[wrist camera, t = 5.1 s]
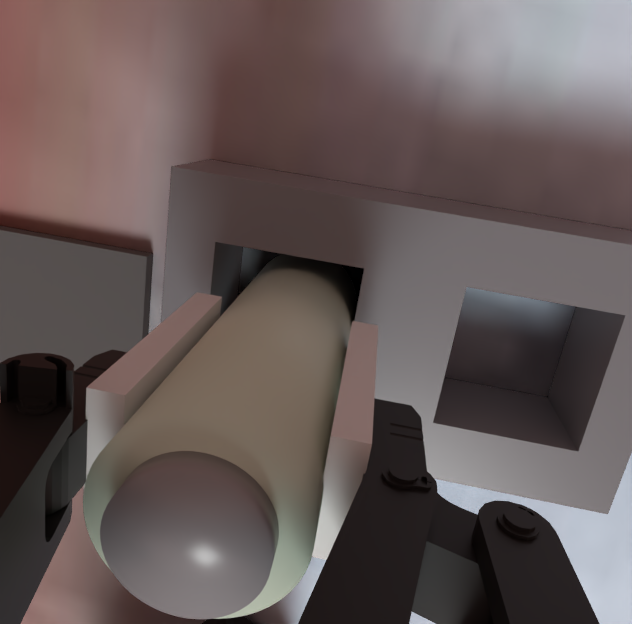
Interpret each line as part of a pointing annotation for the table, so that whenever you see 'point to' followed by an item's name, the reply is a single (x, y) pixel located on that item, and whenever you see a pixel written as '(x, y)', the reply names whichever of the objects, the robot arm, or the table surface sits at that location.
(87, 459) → the robot arm
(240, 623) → the electronic device
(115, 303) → the coaster
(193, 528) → the plug
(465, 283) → the gray cinder block
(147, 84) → the table surface
